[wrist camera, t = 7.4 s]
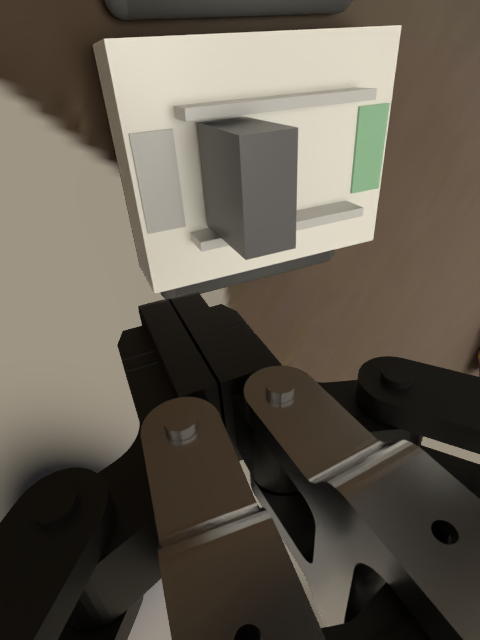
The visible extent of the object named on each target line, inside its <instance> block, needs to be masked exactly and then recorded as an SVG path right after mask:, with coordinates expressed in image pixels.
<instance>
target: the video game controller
mask: <svg viewBox="0 0 480 640" xmlns="http://www.w3.org/2000/svg"><path fill="white" fill-rule="evenodd" d="M478 361H479V366H480V350H479V352H478ZM479 377H480V367H479Z"/></svg>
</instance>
